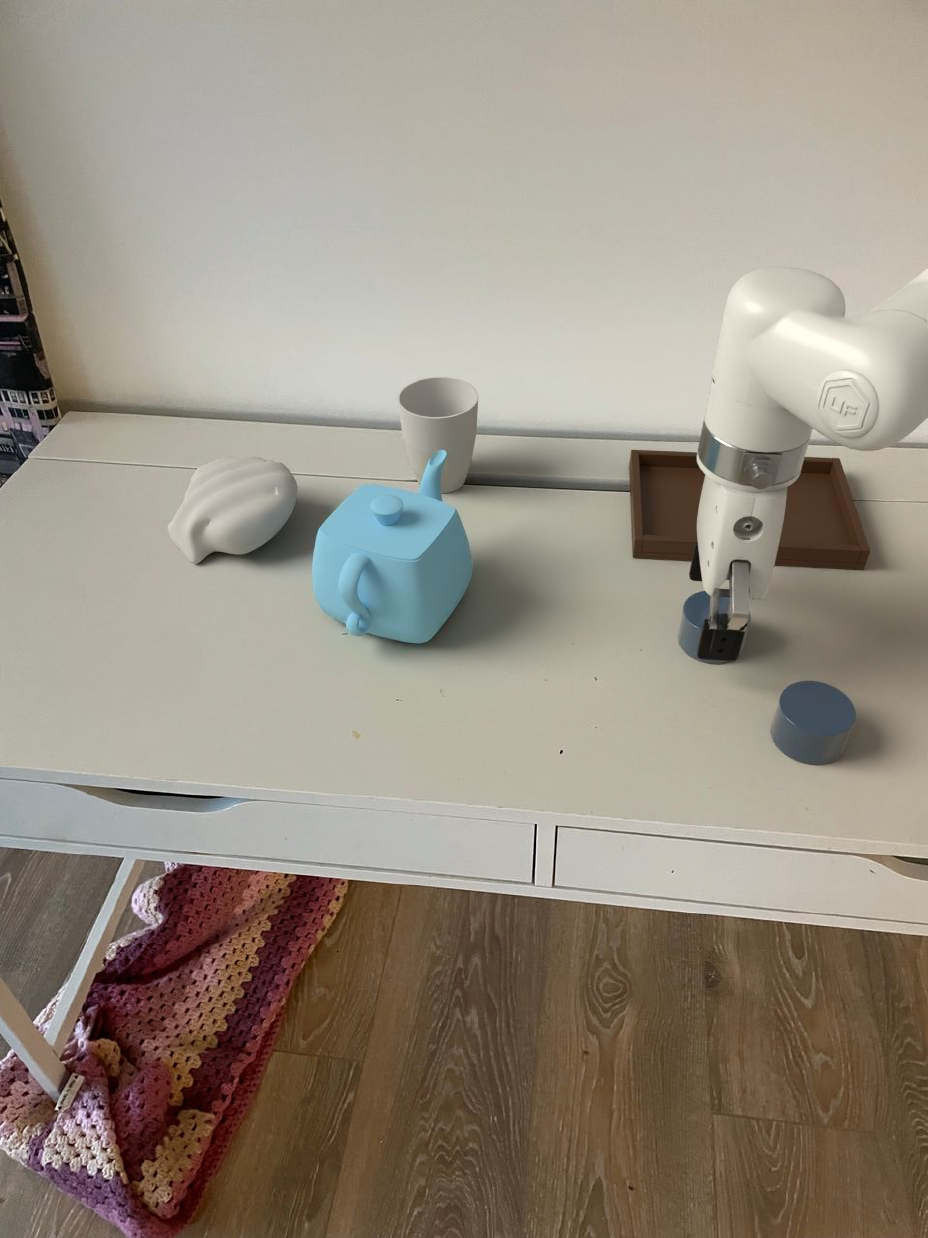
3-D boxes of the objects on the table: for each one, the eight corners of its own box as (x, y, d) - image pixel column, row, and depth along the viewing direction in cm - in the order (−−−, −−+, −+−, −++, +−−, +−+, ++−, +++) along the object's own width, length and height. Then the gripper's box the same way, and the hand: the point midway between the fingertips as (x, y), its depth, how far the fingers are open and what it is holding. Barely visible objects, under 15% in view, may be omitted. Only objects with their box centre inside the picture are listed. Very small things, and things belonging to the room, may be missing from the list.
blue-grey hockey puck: (851, 725, 74) (863, 695, 72) (835, 775, 71) (847, 745, 69) (780, 701, 76) (789, 671, 74) (762, 749, 73) (771, 719, 71)
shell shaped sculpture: (307, 491, 100) (298, 438, 95) (298, 567, 90) (289, 512, 86) (183, 497, 99) (169, 444, 95) (162, 574, 90) (146, 520, 85)
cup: (489, 465, 102) (488, 383, 96) (464, 508, 97) (462, 423, 90) (419, 453, 104) (414, 371, 98) (392, 494, 99) (384, 410, 92)
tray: (834, 476, 100) (839, 457, 98) (864, 570, 88) (870, 551, 87) (629, 467, 102) (631, 449, 100) (632, 558, 90) (634, 539, 89)
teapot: (503, 557, 91) (504, 456, 83) (417, 680, 79) (409, 576, 71) (391, 525, 95) (382, 426, 87) (293, 638, 83) (273, 535, 75)
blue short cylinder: (750, 631, 83) (758, 601, 80) (732, 672, 79) (739, 642, 77) (689, 612, 85) (695, 582, 82) (668, 651, 81) (674, 621, 79)
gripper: (825, 521, 62) (769, 695, 74) (787, 388, 74) (745, 555, 86) (709, 515, 62) (672, 688, 74) (691, 384, 75) (662, 550, 87)
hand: (711, 616), depth 80 cm, fingers open, 9 cm apart
